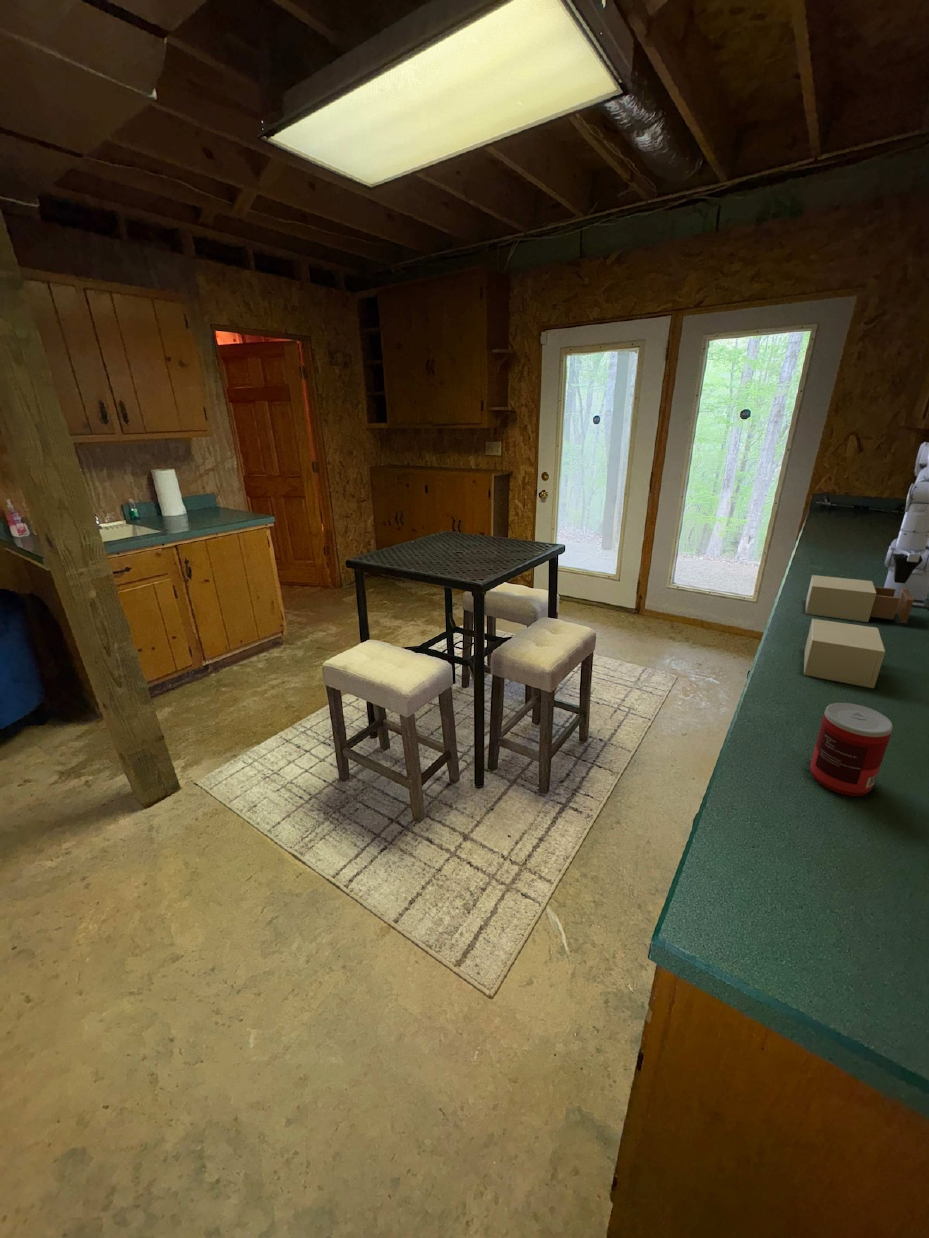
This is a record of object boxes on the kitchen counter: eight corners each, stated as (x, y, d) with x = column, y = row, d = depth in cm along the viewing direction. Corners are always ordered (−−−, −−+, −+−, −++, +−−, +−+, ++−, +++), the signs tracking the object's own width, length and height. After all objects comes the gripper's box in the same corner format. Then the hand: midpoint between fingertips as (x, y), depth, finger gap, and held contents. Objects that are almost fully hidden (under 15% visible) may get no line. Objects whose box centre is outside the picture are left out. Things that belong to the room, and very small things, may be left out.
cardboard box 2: (804, 650, 112) (812, 618, 109) (867, 661, 106) (877, 627, 103) (803, 675, 102) (812, 640, 99) (874, 688, 96) (885, 651, 93)
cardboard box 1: (864, 608, 135) (872, 581, 132) (868, 622, 126) (876, 593, 123) (806, 601, 142) (812, 575, 139) (805, 613, 133) (812, 585, 130)
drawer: (923, 613, 128) (931, 591, 125) (931, 626, 120) (939, 602, 118) (843, 603, 137) (848, 582, 135) (845, 615, 129) (851, 592, 127)
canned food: (859, 767, 75) (879, 705, 71) (882, 802, 68) (905, 737, 64) (802, 758, 77) (817, 698, 73) (817, 792, 70) (836, 728, 66)
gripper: (890, 524, 129) (876, 573, 134) (898, 535, 118) (883, 587, 123) (925, 526, 125) (910, 576, 130) (937, 537, 114) (920, 591, 119)
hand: (899, 582), depth 126 cm, fingers closed
